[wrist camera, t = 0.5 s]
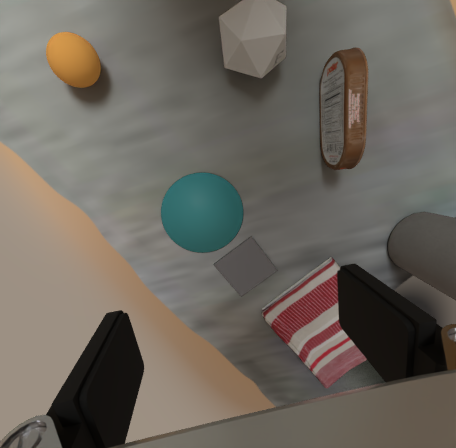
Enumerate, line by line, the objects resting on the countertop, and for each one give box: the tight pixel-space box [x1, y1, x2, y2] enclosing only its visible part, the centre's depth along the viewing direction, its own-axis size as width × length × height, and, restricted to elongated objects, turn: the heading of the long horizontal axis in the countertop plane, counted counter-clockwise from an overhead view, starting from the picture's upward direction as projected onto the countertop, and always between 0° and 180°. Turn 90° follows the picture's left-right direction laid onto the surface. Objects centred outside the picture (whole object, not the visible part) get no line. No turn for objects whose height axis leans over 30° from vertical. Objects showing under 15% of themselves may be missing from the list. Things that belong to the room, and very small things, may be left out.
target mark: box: [161, 173, 243, 253], centre depth 39 cm, size 13×13×1 cm
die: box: [219, 0, 286, 78], centre depth 30 cm, size 8×9×10 cm
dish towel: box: [262, 257, 367, 388], centre depth 47 cm, size 17×23×3 cm
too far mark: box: [214, 236, 278, 297], centre depth 42 cm, size 8×8×1 cm
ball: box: [46, 32, 101, 88], centre depth 30 cm, size 6×6×6 cm
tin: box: [320, 48, 368, 170], centre depth 33 cm, size 15×3×8 cm, turn 7°
